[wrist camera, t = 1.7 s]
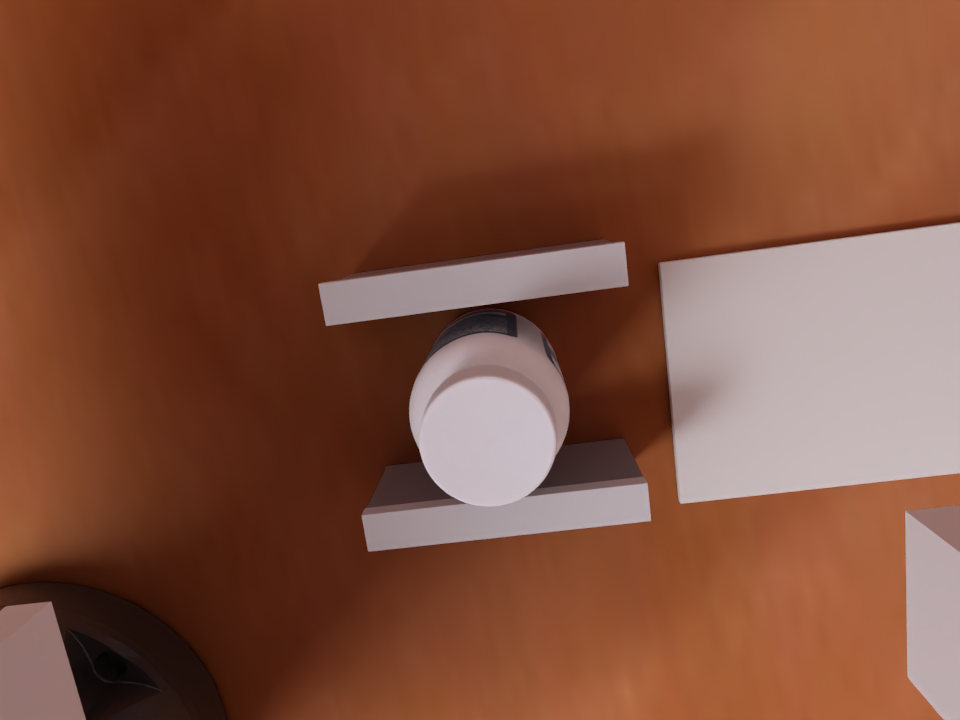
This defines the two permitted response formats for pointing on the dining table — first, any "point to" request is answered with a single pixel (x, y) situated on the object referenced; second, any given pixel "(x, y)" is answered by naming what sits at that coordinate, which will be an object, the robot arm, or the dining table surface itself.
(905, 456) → the mat
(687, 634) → the dining table surface
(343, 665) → the dining table surface
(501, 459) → the pill bottle
